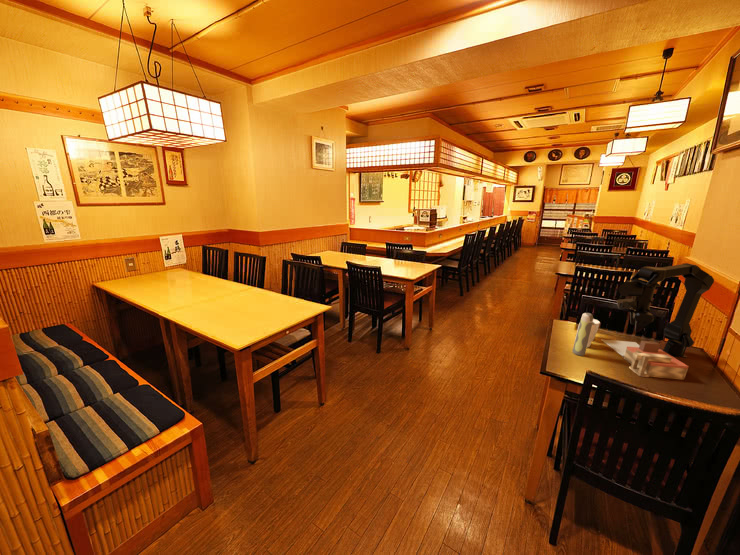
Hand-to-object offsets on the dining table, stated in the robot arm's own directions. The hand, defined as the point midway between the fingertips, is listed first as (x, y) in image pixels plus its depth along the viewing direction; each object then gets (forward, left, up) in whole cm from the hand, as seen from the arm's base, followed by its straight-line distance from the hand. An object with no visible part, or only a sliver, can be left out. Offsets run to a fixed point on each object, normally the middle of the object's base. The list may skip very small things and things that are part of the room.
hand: (634, 328), depth 138 cm
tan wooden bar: (+2, +15, -7) cm, 17 cm away
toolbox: (-2, +11, -14) cm, 18 cm away
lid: (-3, +11, -9) cm, 14 cm away
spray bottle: (+23, +3, -14) cm, 27 cm away
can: (+16, -7, -14) cm, 22 cm away
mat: (-5, -6, -14) cm, 16 cm away
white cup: (+10, -15, -14) cm, 23 cm away
